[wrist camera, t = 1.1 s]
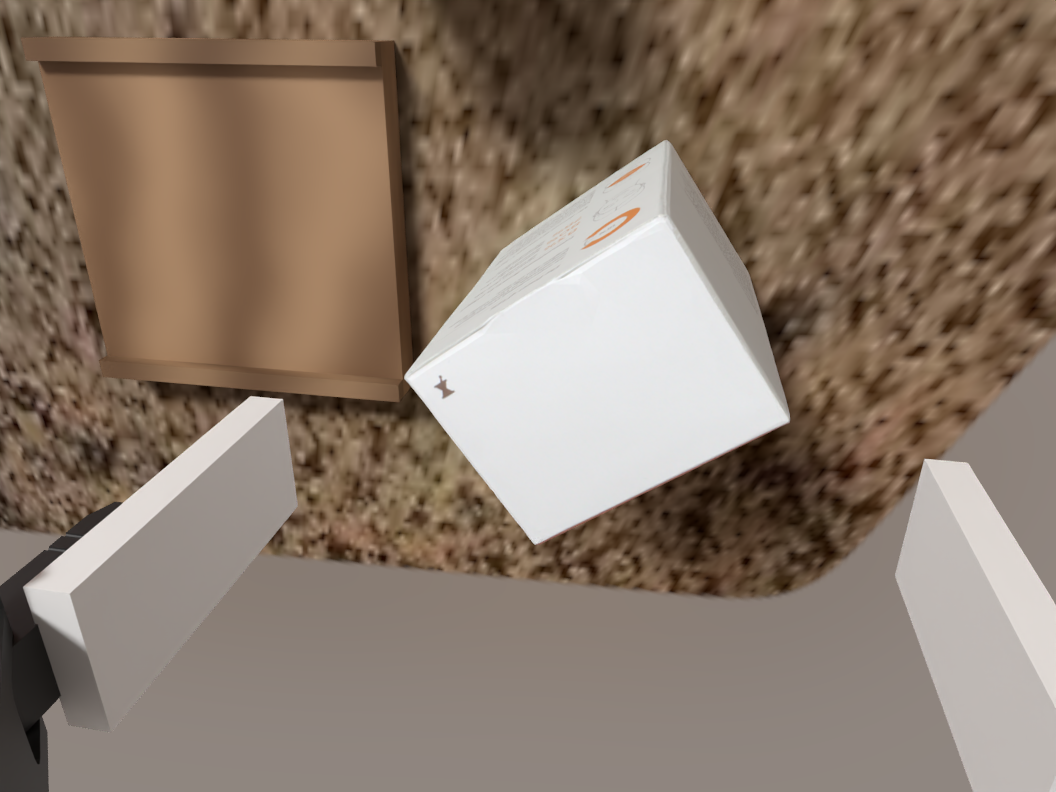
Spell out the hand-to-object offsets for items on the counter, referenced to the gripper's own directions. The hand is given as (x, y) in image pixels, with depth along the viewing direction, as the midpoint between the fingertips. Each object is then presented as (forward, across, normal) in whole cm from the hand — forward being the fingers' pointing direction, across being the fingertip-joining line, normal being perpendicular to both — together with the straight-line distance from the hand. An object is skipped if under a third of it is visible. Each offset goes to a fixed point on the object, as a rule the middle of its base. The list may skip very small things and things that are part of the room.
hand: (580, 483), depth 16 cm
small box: (+17, 0, 0) cm, 17 cm away
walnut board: (+17, -16, +1) cm, 24 cm away
